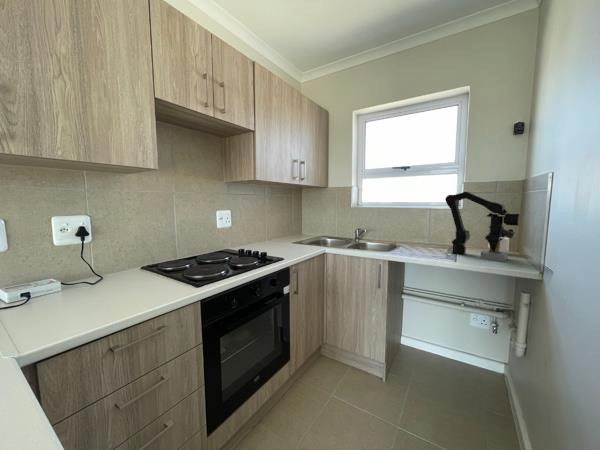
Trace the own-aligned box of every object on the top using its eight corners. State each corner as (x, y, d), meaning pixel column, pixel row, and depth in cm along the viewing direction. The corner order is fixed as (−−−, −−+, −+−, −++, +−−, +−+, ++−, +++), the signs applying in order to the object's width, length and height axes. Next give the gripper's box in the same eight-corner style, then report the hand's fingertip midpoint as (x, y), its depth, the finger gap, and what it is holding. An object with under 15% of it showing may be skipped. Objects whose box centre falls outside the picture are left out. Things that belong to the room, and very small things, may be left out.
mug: (492, 254, 157) (493, 239, 156) (483, 252, 165) (484, 237, 164) (511, 254, 157) (512, 238, 156) (501, 252, 165) (502, 237, 164)
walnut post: (489, 256, 147) (490, 239, 146) (490, 255, 150) (492, 239, 149) (497, 257, 144) (498, 240, 143) (499, 256, 147) (500, 239, 146)
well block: (480, 258, 148) (480, 251, 147) (485, 255, 155) (485, 249, 155) (503, 261, 139) (504, 254, 139) (507, 258, 147) (508, 252, 146)
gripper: (511, 226, 133) (508, 254, 135) (517, 224, 145) (514, 250, 147) (485, 225, 141) (484, 251, 143) (493, 223, 154) (491, 247, 155)
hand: (494, 250), depth 147 cm, fingers closed on walnut post, 4 cm apart
